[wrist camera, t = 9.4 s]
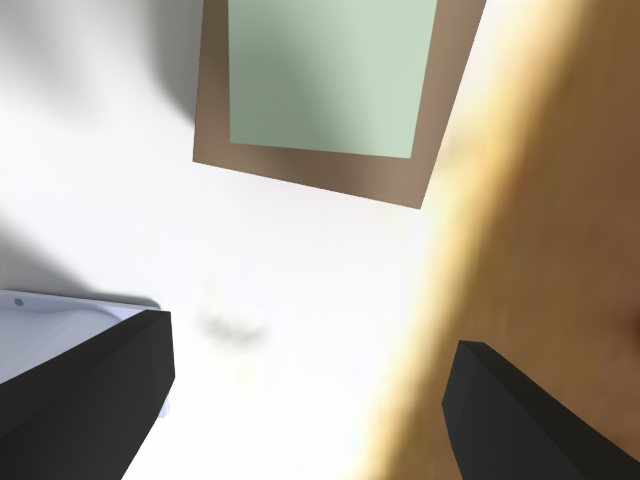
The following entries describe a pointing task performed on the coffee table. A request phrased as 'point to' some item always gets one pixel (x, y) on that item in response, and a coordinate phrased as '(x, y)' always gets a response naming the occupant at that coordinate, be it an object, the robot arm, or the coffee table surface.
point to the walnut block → (336, 167)
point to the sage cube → (328, 73)
